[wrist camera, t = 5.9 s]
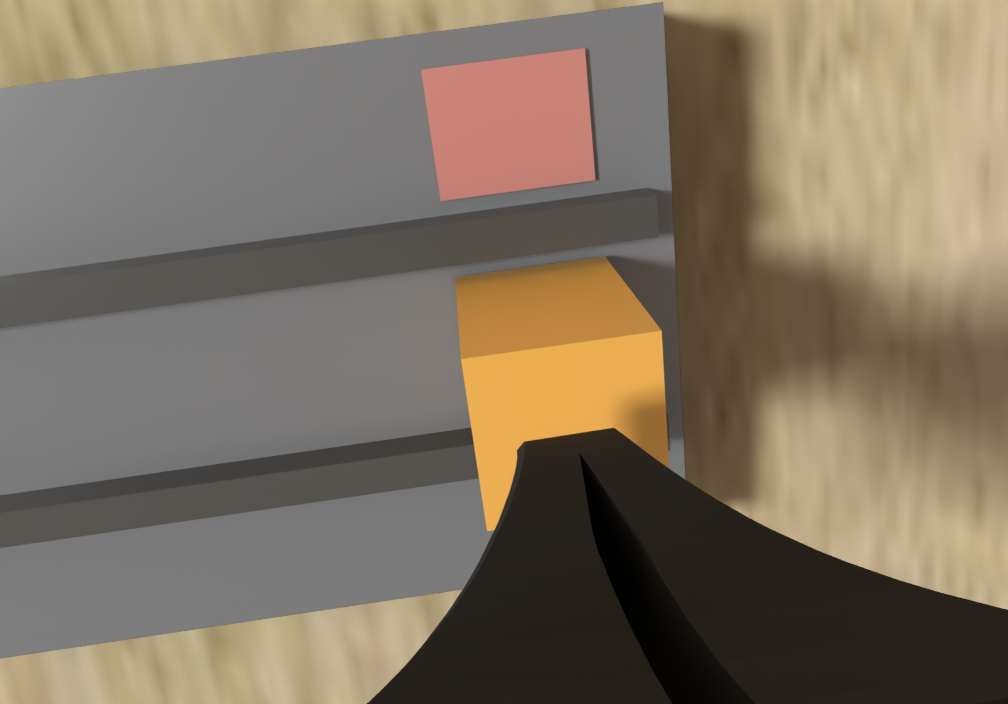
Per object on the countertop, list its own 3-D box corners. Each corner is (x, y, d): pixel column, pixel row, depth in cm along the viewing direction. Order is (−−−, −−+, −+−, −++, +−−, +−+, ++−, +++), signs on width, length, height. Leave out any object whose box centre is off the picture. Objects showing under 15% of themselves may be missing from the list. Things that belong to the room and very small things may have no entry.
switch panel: (656, 489, 22) (699, 576, 19) (-21, 589, 22) (-110, 698, 18) (627, 7, 18) (674, 0, 14) (-224, 118, 17) (-395, 140, 14)
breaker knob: (615, 393, 17) (671, 503, 13) (474, 413, 17) (487, 530, 13) (605, 255, 16) (661, 330, 12) (454, 277, 16) (460, 358, 12)
